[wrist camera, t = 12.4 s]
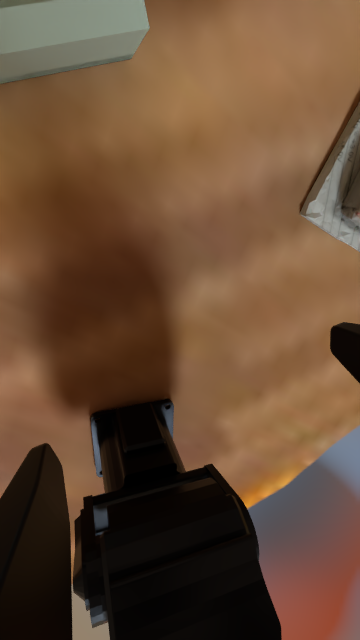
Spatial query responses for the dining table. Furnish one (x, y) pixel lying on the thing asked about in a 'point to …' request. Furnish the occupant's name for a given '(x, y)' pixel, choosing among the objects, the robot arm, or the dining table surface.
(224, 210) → the dining table surface
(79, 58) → the green square tray
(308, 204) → the packaged product
